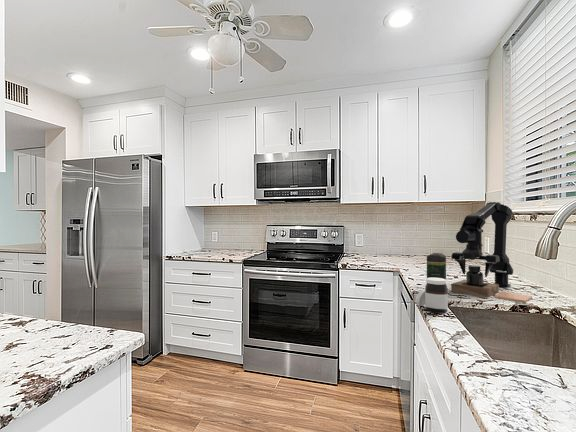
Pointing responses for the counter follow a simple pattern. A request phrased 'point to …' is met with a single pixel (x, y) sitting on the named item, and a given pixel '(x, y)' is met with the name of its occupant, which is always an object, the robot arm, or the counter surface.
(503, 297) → the terracotta coaster
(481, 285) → the supplement bottle
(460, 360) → the counter surface
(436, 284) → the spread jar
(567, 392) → the counter surface
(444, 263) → the coffee jar
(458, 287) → the walnut caddy
